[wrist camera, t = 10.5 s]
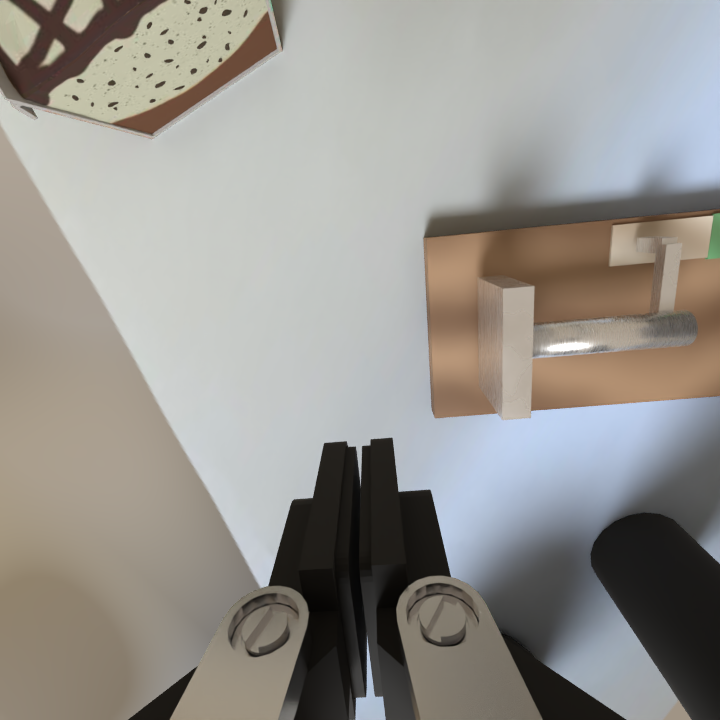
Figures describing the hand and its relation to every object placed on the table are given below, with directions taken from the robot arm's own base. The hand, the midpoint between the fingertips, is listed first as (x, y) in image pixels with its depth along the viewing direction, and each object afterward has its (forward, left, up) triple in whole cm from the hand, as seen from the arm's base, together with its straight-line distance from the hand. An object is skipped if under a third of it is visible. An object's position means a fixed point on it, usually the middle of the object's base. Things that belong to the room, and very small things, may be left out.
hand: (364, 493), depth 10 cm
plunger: (0, +12, -17) cm, 21 cm away
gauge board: (+1, +16, -19) cm, 25 cm away
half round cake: (-17, -9, -20) cm, 27 cm away
